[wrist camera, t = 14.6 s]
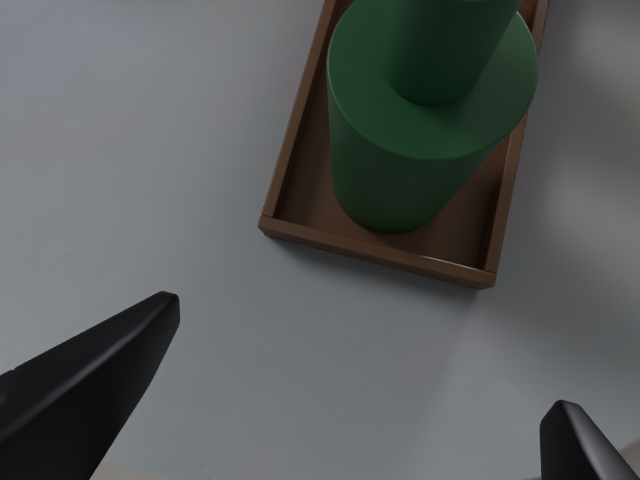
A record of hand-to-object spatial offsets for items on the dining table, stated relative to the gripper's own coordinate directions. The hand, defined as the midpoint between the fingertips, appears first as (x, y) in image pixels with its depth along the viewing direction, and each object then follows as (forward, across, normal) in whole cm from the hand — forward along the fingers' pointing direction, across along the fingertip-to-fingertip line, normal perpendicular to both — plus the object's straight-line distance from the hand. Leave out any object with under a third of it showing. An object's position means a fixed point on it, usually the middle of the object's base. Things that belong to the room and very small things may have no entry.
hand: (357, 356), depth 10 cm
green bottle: (+14, 0, +2) cm, 14 cm away
